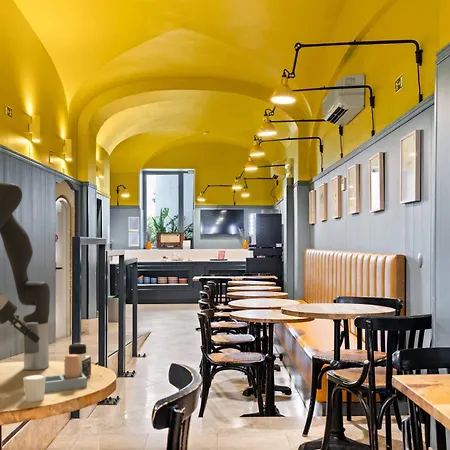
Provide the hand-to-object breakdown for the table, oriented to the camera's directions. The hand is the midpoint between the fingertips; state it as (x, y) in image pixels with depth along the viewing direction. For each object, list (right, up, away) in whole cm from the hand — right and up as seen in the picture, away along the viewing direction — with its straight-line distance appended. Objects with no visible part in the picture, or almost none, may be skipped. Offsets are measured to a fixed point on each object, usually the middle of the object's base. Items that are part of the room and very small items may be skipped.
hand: (36, 339), depth 201 cm
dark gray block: (-2, -4, -1) cm, 5 cm away
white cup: (+5, -15, -19) cm, 25 cm away
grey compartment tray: (+10, -15, -5) cm, 19 cm away
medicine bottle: (+12, -15, +7) cm, 21 cm away
